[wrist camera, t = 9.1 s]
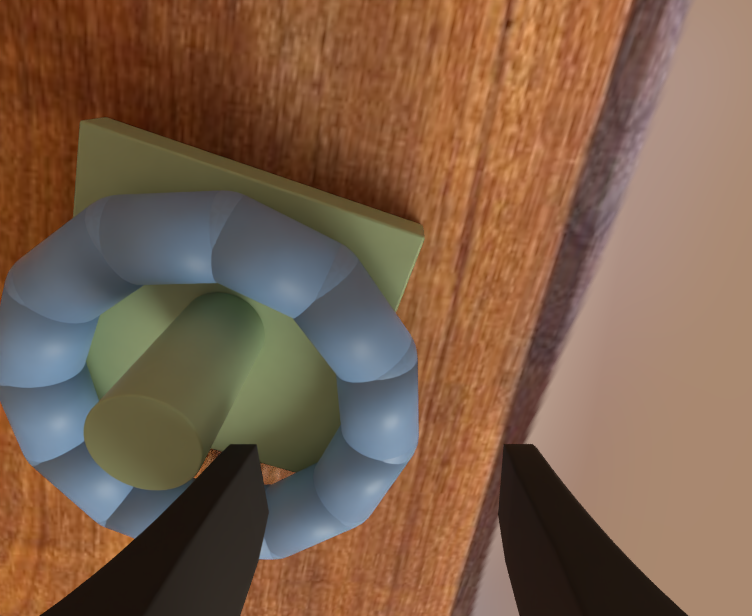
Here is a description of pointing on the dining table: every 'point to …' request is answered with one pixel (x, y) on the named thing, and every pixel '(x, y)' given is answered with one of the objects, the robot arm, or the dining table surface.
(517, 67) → the dining table surface
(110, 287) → the ring
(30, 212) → the dining table surface
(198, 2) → the dining table surface
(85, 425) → the peg stand
